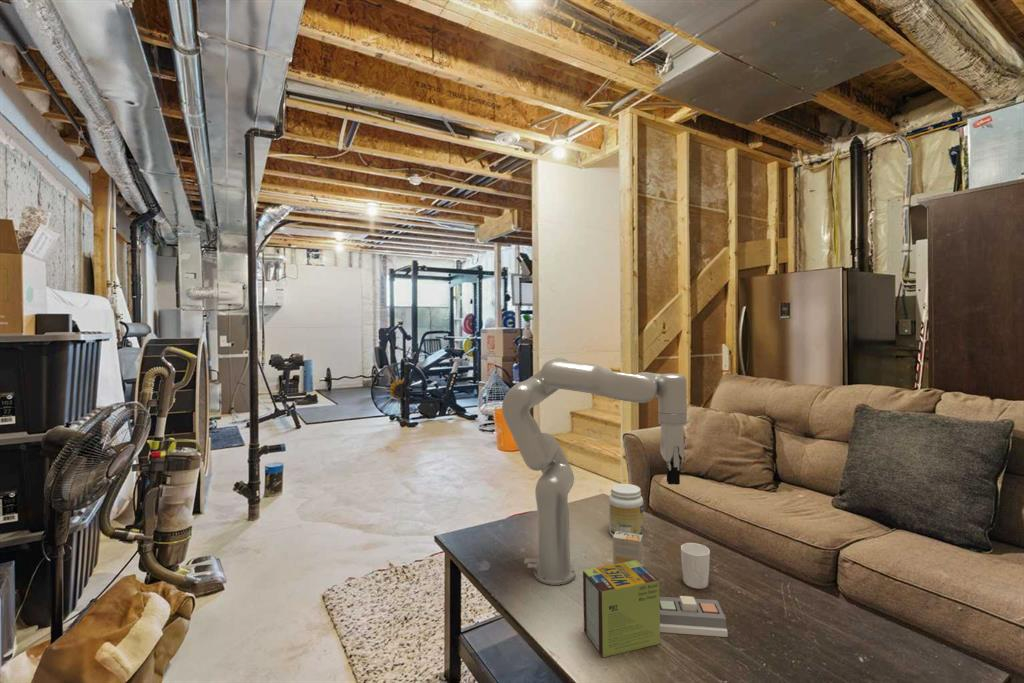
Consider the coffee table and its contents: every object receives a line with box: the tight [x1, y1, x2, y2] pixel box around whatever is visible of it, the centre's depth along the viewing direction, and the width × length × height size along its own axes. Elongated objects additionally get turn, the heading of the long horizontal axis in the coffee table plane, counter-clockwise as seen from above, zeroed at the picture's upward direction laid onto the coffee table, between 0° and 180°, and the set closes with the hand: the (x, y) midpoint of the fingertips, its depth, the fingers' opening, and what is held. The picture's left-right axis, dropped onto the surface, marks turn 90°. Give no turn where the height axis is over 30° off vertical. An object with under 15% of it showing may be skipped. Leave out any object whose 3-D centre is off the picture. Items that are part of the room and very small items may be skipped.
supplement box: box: [612, 531, 645, 567], centre depth 140 cm, size 8×5×13 cm, turn 65°
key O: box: [660, 601, 676, 611], centre depth 120 cm, size 3×3×2 cm
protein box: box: [582, 560, 661, 658], centre depth 114 cm, size 10×15×16 cm
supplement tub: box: [608, 483, 645, 537], centre depth 169 cm, size 12×12×17 cm
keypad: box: [659, 596, 729, 638], centre depth 120 cm, size 16×10×4 cm, turn 81°
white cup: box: [680, 542, 711, 590], centre depth 137 cm, size 8×8×10 cm
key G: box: [700, 603, 718, 614], centre depth 119 cm, size 3×3×2 cm
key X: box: [679, 595, 697, 612], centre depth 119 cm, size 3×3×2 cm
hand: (673, 483), depth 132 cm, fingers closed
